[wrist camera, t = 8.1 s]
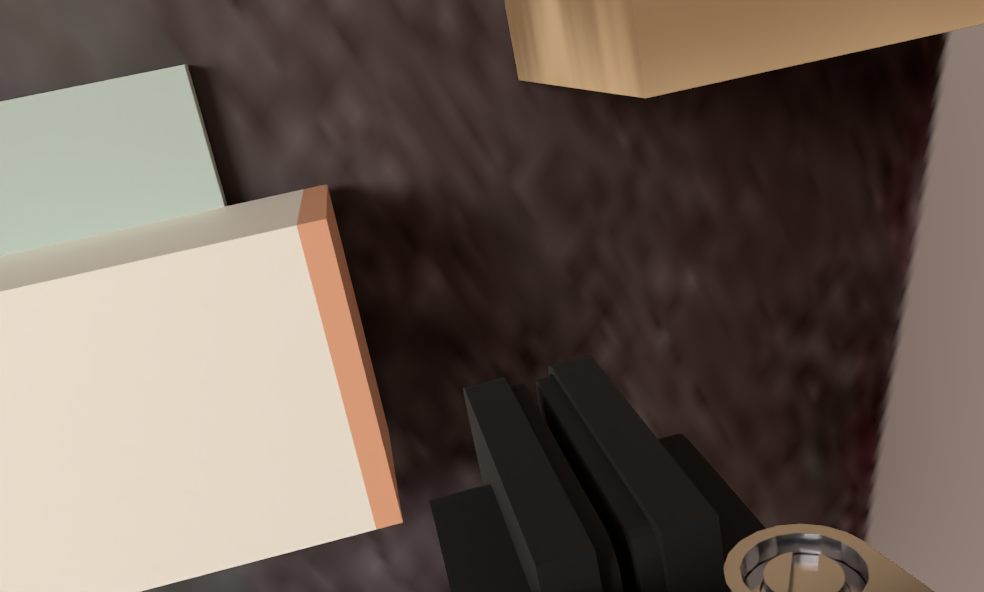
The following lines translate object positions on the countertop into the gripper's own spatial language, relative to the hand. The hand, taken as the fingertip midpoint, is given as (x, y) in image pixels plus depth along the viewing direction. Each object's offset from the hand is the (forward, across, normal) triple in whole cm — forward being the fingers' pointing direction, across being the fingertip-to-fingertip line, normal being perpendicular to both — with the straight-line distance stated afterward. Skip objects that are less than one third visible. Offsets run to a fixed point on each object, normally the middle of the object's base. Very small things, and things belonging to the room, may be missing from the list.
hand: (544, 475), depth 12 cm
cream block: (+10, +2, +2) cm, 11 cm away
